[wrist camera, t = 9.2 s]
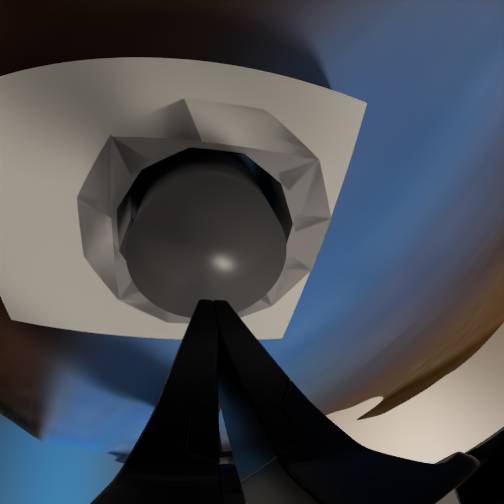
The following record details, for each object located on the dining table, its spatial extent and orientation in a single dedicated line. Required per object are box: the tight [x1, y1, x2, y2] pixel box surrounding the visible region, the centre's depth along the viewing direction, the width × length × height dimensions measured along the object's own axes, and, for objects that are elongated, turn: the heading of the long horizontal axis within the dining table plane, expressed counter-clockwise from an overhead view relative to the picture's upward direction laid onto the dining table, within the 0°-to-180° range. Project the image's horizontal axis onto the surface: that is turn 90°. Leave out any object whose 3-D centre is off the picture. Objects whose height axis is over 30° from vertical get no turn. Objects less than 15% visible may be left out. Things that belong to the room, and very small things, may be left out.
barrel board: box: [0, 57, 367, 339], centre depth 12 cm, size 14×18×3 cm
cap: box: [126, 149, 287, 318], centre depth 12 cm, size 6×6×5 cm
